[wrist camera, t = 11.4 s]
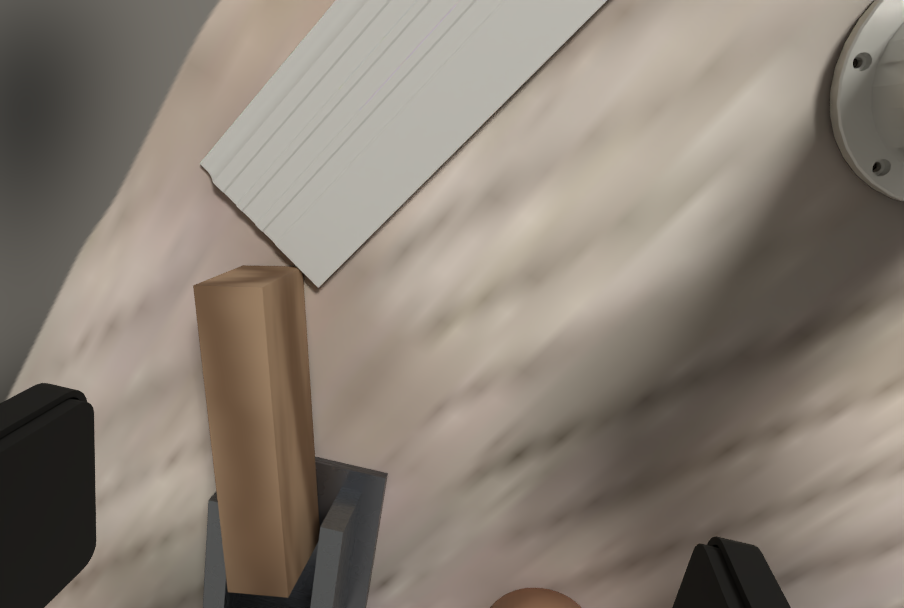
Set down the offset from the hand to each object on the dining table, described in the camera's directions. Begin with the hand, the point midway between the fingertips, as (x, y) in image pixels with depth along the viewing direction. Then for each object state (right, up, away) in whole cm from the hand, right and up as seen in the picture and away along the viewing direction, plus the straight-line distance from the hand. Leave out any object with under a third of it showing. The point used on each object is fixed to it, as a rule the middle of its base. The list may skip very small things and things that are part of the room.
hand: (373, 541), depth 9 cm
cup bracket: (-10, -13, +35) cm, 39 cm away
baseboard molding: (0, +19, +25) cm, 31 cm away
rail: (-10, -4, +32) cm, 34 cm away
